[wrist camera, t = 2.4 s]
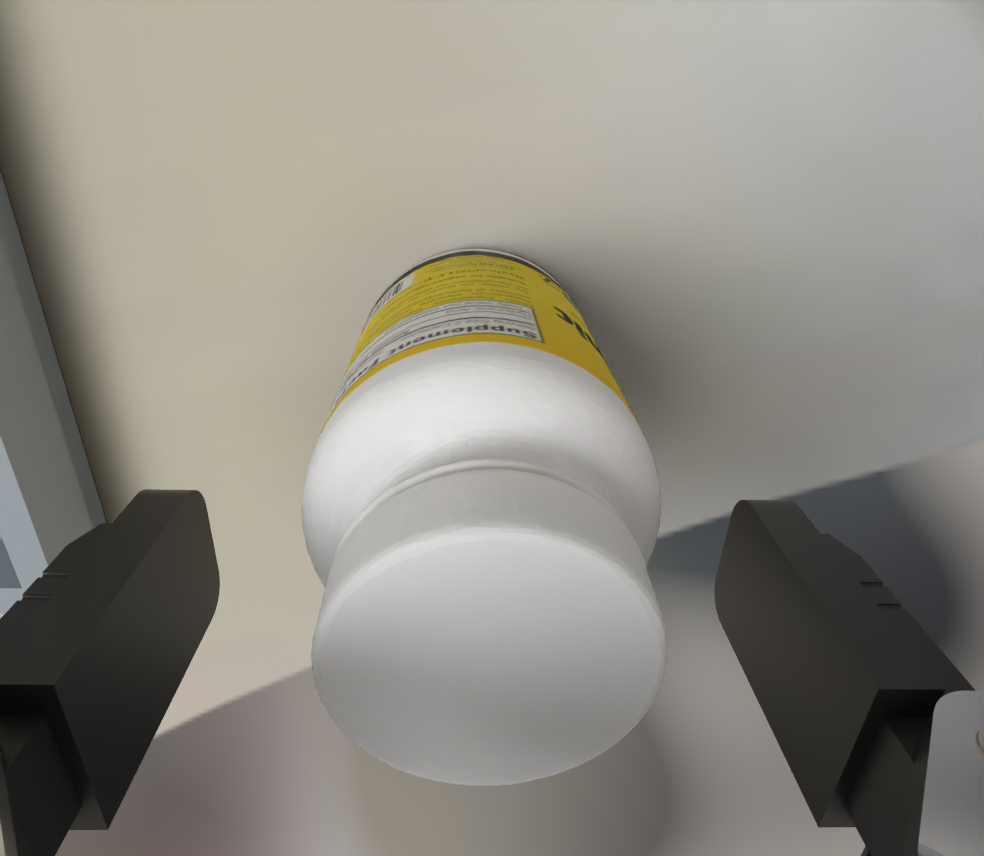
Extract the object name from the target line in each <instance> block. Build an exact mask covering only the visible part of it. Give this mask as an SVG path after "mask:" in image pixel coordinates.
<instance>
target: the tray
mask: <svg viewBox="0 0 984 856" xmlns="http://www.w3.org/2000/svg"><path fill="white" fill-rule="evenodd" d="M101 523H106V519H105V516H104V513H103V509H102V506H101V503H100V499H99V496H98V493H97V489H96V486H95V483H94V479H93V476H92V473H91V469H90V466H89V463H88V460H87V456H86V453H85V450H84V446H83V443H82V440H81V436H80V433H79V430H78V426H77V423H76V420H75V416H74V413H73V410H72V406H71V403H70V400H69V397H68V393H67V390H66V387H65V383H64V380H63V377H62V373H61V370H60V367H59V363H58V360H57V357H56V353H55V350H54V347H53V343H52V340H51V337H50V334H49V330H48V327H47V324H46V320H45V317H44V314H43V310H42V307H41V304H40V300H39V297H38V294H37V290H36V287H35V284H34V280H33V277H32V274H31V271H30V267H29V264H28V261H27V257H26V254H25V251H24V247H23V244H22V241H21V237H20V234H19V231H18V227H17V224H16V221H15V217H14V214H13V211H12V208H11V204H10V201H9V198H8V194H7V191H6V188H5V184H4V181H3V178H2V174H1V171H0V613H6V612H7V611H8V610H9V609H10V608H11V607H12V606H13V604H14V603H15V602H16V601H17V600H19V601H21V600H22V598H23V595H22V594H23V593H24V592H25V591H26V590H27V589H28V588H29V587H30V586H31V584H32V583H33V582H34V581H35V580H36V579H37V578H38V577H42V576H43V571H44V570H45V569H46V568H47V567H48V566H49V564H50V563H51V562H52V561H53V560H54V559H55V558H56V557H57V556H58V554H59V553H60V552H61V551H62V550H63V549H64V548H65V547H66V546H67V545H68V544H70V543H71V542H73V541H74V540H76V539H78V538H79V537H81V536H82V535H84V534H85V533H87V532H89V531H90V530H92V529H93V528H95V527H97V526H98V525H100V524H101Z"/></svg>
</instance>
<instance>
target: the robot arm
mask: <svg viewBox="0 0 984 856" xmlns="http://www.w3.org/2000/svg"><path fill="white" fill-rule="evenodd" d="M219 587H220V579H219V570H218V565H217V560H216V555H215V549H214V544H213V539H212V534H211V529H210V523H209V518H208V513H207V508H206V503H205V500H204V497H203V496H202V494H201V493H200V492H199V491H197V490H142V491H140V492H139V493H138V494H137V495H136V496H135V497H134V498H133V500H132V501H131V502H130V503H129V504H128V506H127V507H126V508H125V509H124V510H123V512H122V513H121V514H120V515H119V516H118V518H117V519H116V520H115V521H114V522H113V523H101V524H100V525H98V526H97V527H95V528H93V529H92V530H90V531H89V532H87V533H85V534H84V535H82V536H81V537H79V538H78V539H76V540H74V541H73V542H71V543H70V544H68V545H67V546H66V547H65V548H64V549H63V550H62V551H61V552H60V553H59V554H58V556H57V557H56V558H55V559H54V560H53V561H52V562H51V563H50V564H49V566H48V567H47V568H46V569H45V570H44V571H43V576H42V577H38V578H37V579H36V580H35V581H34V582H33V583H32V584H31V586H30V587H29V588H28V589H27V590H26V591H25V592H24V593H23V594H22V595H23V598H22V600H21V601H19V600H17V601H16V602H15V603H14V604H13V606H12V607H11V608H10V609H9V610H8V611H7V612H6V613H5V614H4V616H3V617H2V618H1V619H0V856H55V854H56V853H57V851H58V849H59V847H60V845H61V843H62V841H63V840H64V837H65V836H66V834H67V832H68V831H69V830H108V828H109V826H110V824H111V822H112V820H113V818H114V816H115V814H116V812H117V810H118V808H119V806H120V804H121V802H122V800H123V798H124V796H125V794H126V792H127V790H128V788H129V786H130V784H131V782H132V780H133V778H134V776H135V774H136V772H137V770H138V768H139V766H140V764H141V762H142V760H143V758H144V756H145V754H146V752H147V749H148V747H149V745H150V743H151V741H152V739H153V737H154V735H155V733H156V731H157V729H158V727H159V725H160V723H161V721H162V719H163V717H164V715H165V713H166V711H167V709H168V707H169V705H170V703H171V701H172V699H173V697H174V695H175V693H176V691H177V689H178V687H179V685H180V683H181V681H182V679H183V677H184V674H185V672H186V670H187V668H188V666H189V664H190V662H191V660H192V658H193V656H194V654H195V652H196V650H197V648H198V646H199V644H200V642H201V640H202V638H203V636H204V634H205V632H206V630H207V628H208V626H209V624H210V622H211V620H212V618H213V615H214V613H215V610H216V606H217V602H218V597H219ZM715 604H716V610H717V614H718V617H719V620H720V622H721V624H722V627H723V629H724V631H725V633H726V635H727V637H728V639H729V641H730V643H731V645H732V648H733V650H734V652H735V654H736V656H737V658H738V660H739V662H740V664H741V666H742V668H743V670H744V673H745V675H746V677H747V679H748V681H749V683H750V685H751V687H752V689H753V691H754V693H755V696H756V697H757V700H758V702H759V704H760V706H761V708H762V710H763V712H764V714H765V716H766V718H767V721H768V723H769V725H770V727H771V729H772V731H773V733H774V735H775V737H776V739H777V742H778V743H779V746H780V748H781V750H782V752H783V754H784V756H785V758H786V760H787V762H788V764H789V766H790V769H791V771H792V773H793V775H794V777H795V779H796V781H797V783H798V785H799V787H800V789H801V792H802V794H803V796H804V798H805V800H806V802H807V804H808V806H809V808H810V810H811V812H812V815H813V817H814V819H815V821H816V823H817V825H818V827H856V828H857V830H858V832H859V834H860V836H861V838H862V840H863V841H864V843H865V845H866V846H865V848H864V850H863V852H862V854H861V856H984V692H978V691H975V689H974V688H973V687H972V686H971V685H970V684H969V682H968V681H967V680H966V679H965V678H964V677H963V676H962V674H961V673H960V672H959V671H958V670H957V668H956V667H955V666H954V665H953V664H952V662H951V661H950V660H949V659H948V658H947V657H946V656H945V654H944V653H943V652H942V651H941V650H940V649H939V647H938V646H937V645H936V644H935V643H934V641H933V640H932V639H931V638H930V637H929V635H928V634H927V633H926V632H925V631H924V630H923V628H922V627H921V626H920V625H919V624H918V623H917V621H916V620H915V619H914V618H913V617H912V616H911V614H910V613H909V612H908V611H907V610H906V609H902V608H901V603H900V602H899V600H898V599H897V598H896V597H895V596H894V594H893V593H892V592H891V591H890V590H889V589H888V588H887V587H883V582H882V580H881V579H880V578H879V577H878V576H877V575H876V574H875V572H874V571H873V570H872V569H871V568H870V566H869V565H868V564H867V563H866V562H865V561H864V559H863V558H862V557H861V556H860V555H858V554H857V553H855V552H854V551H852V550H851V549H850V548H848V547H847V546H845V545H843V544H842V543H841V542H839V541H838V540H836V539H835V538H833V537H832V536H831V535H829V534H820V533H819V531H818V530H817V529H816V528H815V526H814V525H813V524H812V523H811V522H810V520H809V519H808V518H807V517H806V515H805V514H804V513H803V511H802V510H801V509H800V508H799V507H798V505H796V504H795V503H794V502H792V501H773V500H741V501H739V502H738V503H737V504H736V505H735V507H734V509H733V512H732V515H731V520H730V524H729V528H728V532H727V536H726V540H725V544H724V548H723V552H722V556H721V560H720V564H719V568H718V572H717V576H716V581H715Z"/></svg>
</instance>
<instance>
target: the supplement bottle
mask: <svg viewBox="0 0 984 856" xmlns="http://www.w3.org/2000/svg"><path fill="white" fill-rule="evenodd" d="M660 512H661V500H660V487H659V480H658V475H657V471H656V467H655V463H654V460H653V456H652V454H651V451H650V449H649V446H648V444H647V442H646V439H645V437H644V435H643V432H642V430H641V428H640V426H639V423H638V421H637V420H636V418H635V416H634V414H633V412H632V410H631V409H630V407H629V405H628V403H627V401H626V399H625V398H624V396H623V394H622V392H621V390H620V388H619V387H618V385H617V383H616V381H615V379H614V377H613V375H612V374H611V372H610V370H609V367H608V365H607V364H606V362H605V360H604V358H603V356H602V354H601V353H600V350H599V349H598V347H597V345H596V343H595V341H594V339H593V337H592V336H591V333H590V331H589V330H588V328H587V326H586V324H585V322H584V320H583V318H582V316H581V314H580V312H579V310H578V309H577V307H576V306H575V304H574V302H573V301H572V299H571V298H570V297H569V295H568V294H567V293H566V291H565V290H564V289H563V288H562V287H561V286H560V284H559V283H558V282H557V281H556V280H555V279H554V278H553V277H552V276H550V275H549V274H548V273H547V272H545V271H544V270H543V269H541V268H539V267H538V266H536V265H535V264H533V263H531V262H529V261H527V260H525V259H523V258H520V257H518V256H515V255H512V254H509V253H505V252H501V251H496V250H489V249H461V250H454V251H450V252H446V253H442V254H438V255H435V256H432V257H430V258H427V259H425V260H423V261H421V262H419V263H417V264H415V265H414V266H412V267H411V268H409V269H408V270H406V271H405V272H403V273H402V274H401V275H400V276H399V277H398V278H396V279H395V280H394V281H393V282H392V283H391V284H390V286H389V287H388V288H387V289H386V290H385V291H384V292H383V294H382V295H381V297H380V298H379V299H378V301H377V303H376V304H375V306H374V308H373V309H372V311H371V313H370V315H369V317H368V320H367V322H366V324H365V326H364V329H363V331H362V333H361V336H360V338H359V340H358V343H357V346H356V349H355V351H354V353H353V355H352V358H351V361H350V363H349V365H348V368H347V370H346V373H345V375H344V378H343V380H342V383H341V385H340V388H339V390H338V392H337V395H336V397H335V400H334V402H333V405H332V407H331V410H330V412H329V414H328V417H327V420H326V422H325V424H324V427H323V429H322V431H321V433H320V436H319V438H318V440H317V443H316V445H315V448H314V451H313V454H312V458H311V460H310V463H309V467H308V471H307V474H306V478H305V483H304V490H303V502H302V523H303V531H304V536H305V540H306V545H307V549H308V553H309V555H310V558H311V560H312V563H313V566H314V568H315V571H316V573H317V574H318V576H319V578H320V580H321V581H322V583H323V585H324V586H325V592H324V596H323V600H322V604H321V608H320V612H319V616H318V620H317V624H316V629H315V633H314V637H313V644H312V653H311V654H312V669H313V674H314V680H315V684H316V688H317V691H318V694H319V697H320V699H321V701H322V703H323V705H324V707H325V709H326V711H327V712H328V714H329V716H330V717H331V718H332V720H333V721H334V722H335V723H336V725H337V726H338V727H339V728H340V729H341V731H343V733H344V734H345V735H346V736H347V737H348V738H349V739H350V740H351V741H352V742H354V743H355V744H356V745H358V746H359V747H360V748H362V749H363V750H364V751H366V752H367V753H368V754H370V755H371V756H372V757H374V758H376V759H378V760H380V761H382V762H384V763H386V764H388V765H390V766H392V767H394V768H396V769H399V770H402V771H404V772H407V773H409V774H412V775H416V776H420V777H423V778H426V779H431V780H435V781H440V782H444V783H453V784H461V785H478V786H486V785H507V784H516V783H523V782H528V781H531V780H535V779H539V778H543V777H548V776H551V775H554V774H557V773H560V772H563V771H566V770H568V769H571V768H574V767H576V766H579V765H581V764H583V763H585V762H587V761H589V760H591V759H593V758H594V757H596V756H598V755H600V754H602V753H603V752H605V751H606V750H607V749H609V748H610V747H612V746H613V745H614V744H616V743H617V742H618V741H620V740H621V739H622V738H623V737H624V736H625V735H626V734H627V733H628V732H629V731H631V729H633V728H634V726H635V725H636V724H637V723H638V722H639V721H640V720H641V719H642V717H643V716H644V715H645V713H646V712H647V710H648V709H649V708H650V706H651V704H652V703H653V700H654V699H655V697H656V695H657V693H658V690H659V688H660V686H661V683H662V679H663V676H664V673H665V668H666V661H667V634H666V628H665V622H664V619H663V616H662V613H661V610H660V607H659V604H658V602H657V599H656V596H655V593H654V590H653V588H652V585H651V582H650V579H649V576H648V572H647V568H646V566H647V564H648V562H649V559H650V557H651V555H652V552H653V549H654V546H655V543H656V539H657V534H658V529H659V524H660Z"/></svg>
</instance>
